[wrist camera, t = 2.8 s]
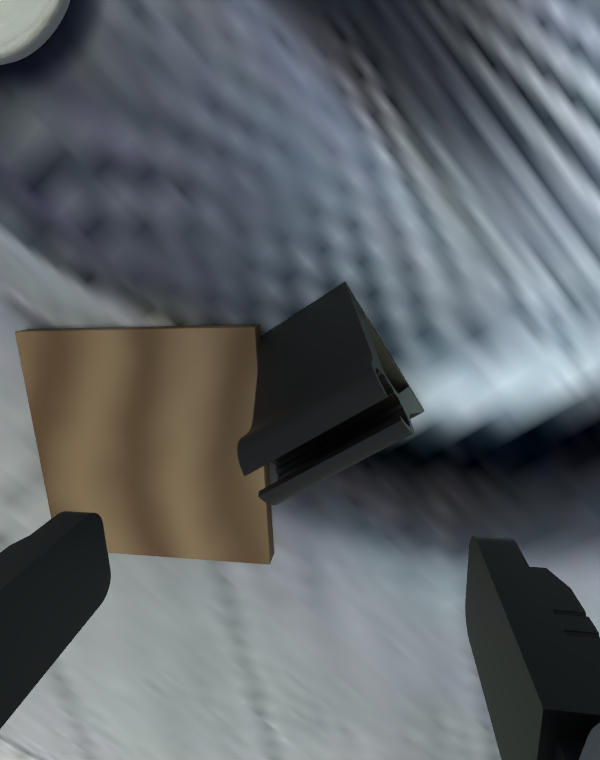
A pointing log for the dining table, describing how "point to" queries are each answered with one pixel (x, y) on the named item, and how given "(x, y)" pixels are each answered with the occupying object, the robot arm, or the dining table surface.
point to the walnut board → (151, 435)
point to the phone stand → (324, 397)
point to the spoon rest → (27, 26)
